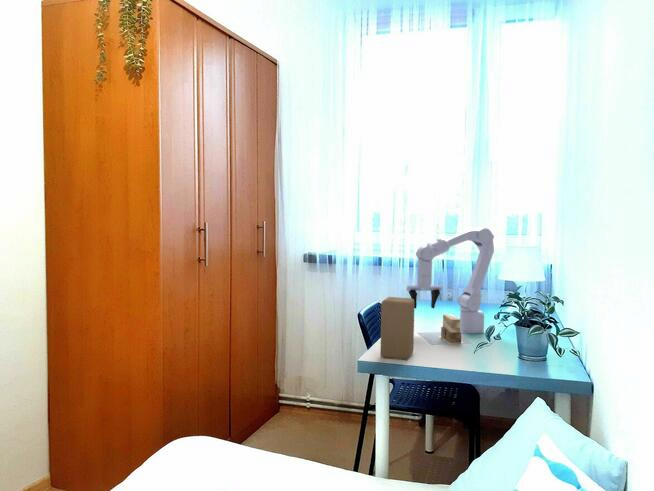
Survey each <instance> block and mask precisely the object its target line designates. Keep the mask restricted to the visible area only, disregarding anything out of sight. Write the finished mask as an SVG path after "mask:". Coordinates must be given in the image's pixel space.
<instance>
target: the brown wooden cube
mask: <svg viewBox="0 0 654 491" xmlns="http://www.w3.org/2000/svg"><path fill="white" fill-rule="evenodd" d="M440 329H441V330H440V332H441V337H442V338H444V339H446V330H447V329H445V328H444V327H443V326H441V327H440Z"/></svg>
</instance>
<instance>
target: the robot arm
mask: <svg viewBox="0 0 654 491" xmlns="http://www.w3.org/2000/svg"><path fill="white" fill-rule="evenodd" d="M494 237H495V236H494V234H493V232H492V231H491V230H490V229H489V228H486V227H477V226H476V227H472V228H469V229H466V230H464V231H462V232H460V233H458V234H456V235H454V236H452V237H450V238H448V239H445V238H440V237H439V238H436V241H434V242H432V243H430V242H429V243H426V246H424V245H422V246H420V247H419V248H417V251H416V252H415V256H416V257H417V285H406V291H407V292H408V293H409V295H410V298H412V299H414V301H415V303H414V309H417V306H418V304H417V300H418V299H417V297H418V291H419V292H420V291H422V292H424V291H425V292H427V291H430V296H431V301H430V307H431V309H435V308H436V302H437V300H438V298H439V296H440V294H441V292H442V291H443V286H442V285H434V284H432V279H433V278H432V276H433V275H432V273H433V272H432V271H433V259H434V258H436V257H438V256H440V255H442V254H444V253H447V252H449V251H450V248H451V247H454V246H457V245H459V244H462V243H464V242H467V241H471V242H473V243H474V244H475V245H476V247H477V249H478V250H479V253H478V255H477V260H476V262H475V265H474V267H473V270H472V273H471V276H470V279H469V281H468V284H467V286H466V287H465V288H464V289H463V291H462V293H461V294H460V295H459V297H458V300H457V302H458V305H459V306H460V310H459V319H460V332H461V334H483V333H484V334H485V315H484V314H485V313H484V311H482V310H479V309H480V308H481V306H482V302H481V300H482V297H483V296H482V293H481V290H482V289H481V288H482V286H483V283H484V281H485V278H486V275H487V273H488V271H489V270H488V269H489V266H490V264H491V260H492V257H493V255H494V252H495V246H494Z"/></svg>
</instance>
